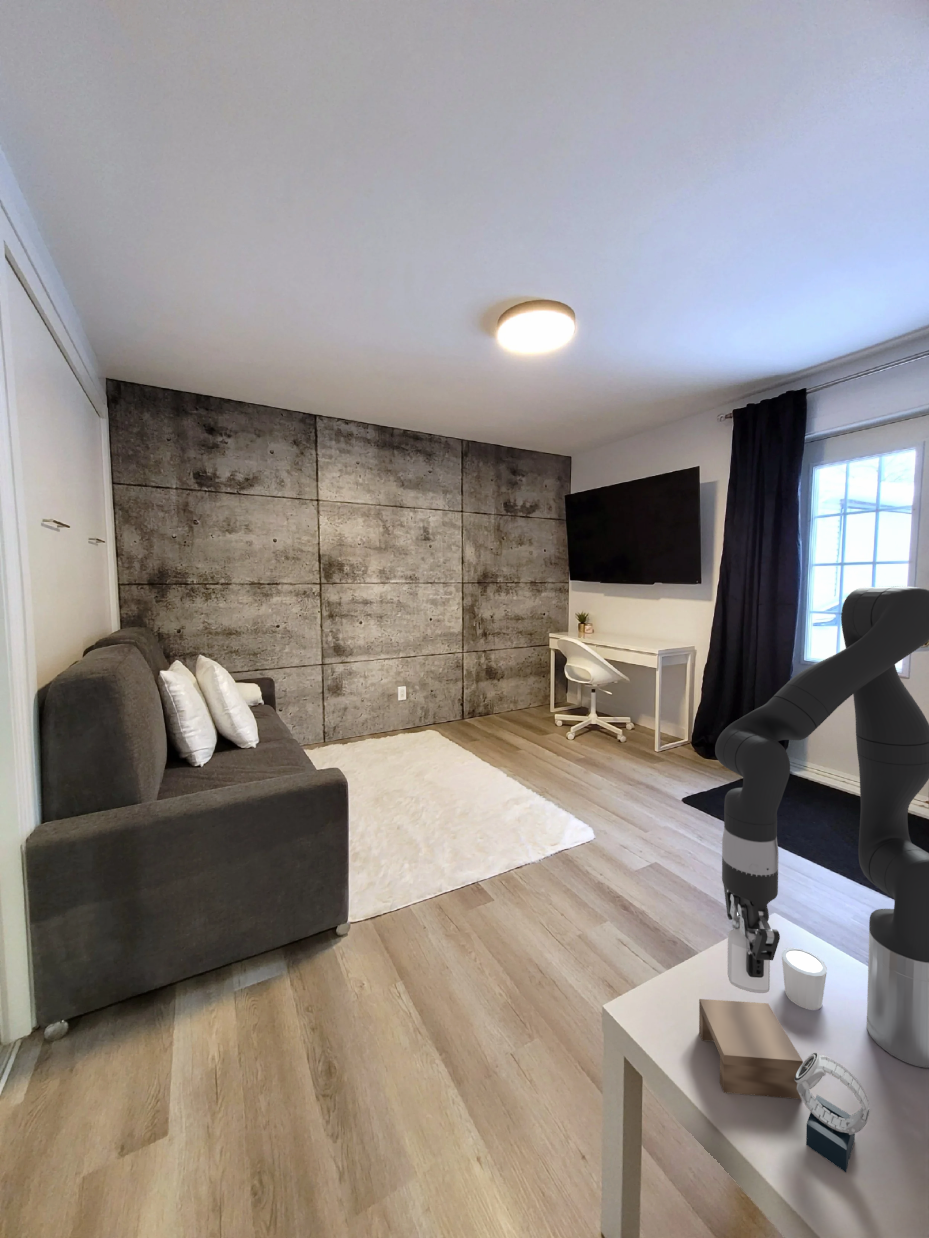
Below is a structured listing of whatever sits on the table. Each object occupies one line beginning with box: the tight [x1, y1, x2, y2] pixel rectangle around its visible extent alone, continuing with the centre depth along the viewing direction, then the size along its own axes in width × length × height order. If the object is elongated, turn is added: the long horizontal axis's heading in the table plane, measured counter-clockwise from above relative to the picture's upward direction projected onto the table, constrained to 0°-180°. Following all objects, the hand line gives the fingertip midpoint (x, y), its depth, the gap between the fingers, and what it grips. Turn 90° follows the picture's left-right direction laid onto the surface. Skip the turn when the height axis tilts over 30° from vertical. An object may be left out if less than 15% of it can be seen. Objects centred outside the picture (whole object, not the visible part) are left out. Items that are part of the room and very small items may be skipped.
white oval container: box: [781, 947, 828, 1011], centre depth 89 cm, size 7×7×7 cm
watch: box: [795, 1052, 871, 1173], centre depth 66 cm, size 6×8×11 cm
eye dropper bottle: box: [727, 918, 771, 994], centre depth 76 cm, size 4×6×12 cm
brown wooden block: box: [698, 998, 804, 1100], centre depth 77 cm, size 11×10×6 cm
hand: (748, 964), depth 76 cm, fingers closed on eye dropper bottle, 3 cm apart
